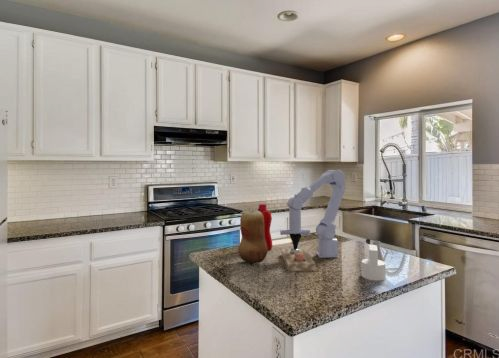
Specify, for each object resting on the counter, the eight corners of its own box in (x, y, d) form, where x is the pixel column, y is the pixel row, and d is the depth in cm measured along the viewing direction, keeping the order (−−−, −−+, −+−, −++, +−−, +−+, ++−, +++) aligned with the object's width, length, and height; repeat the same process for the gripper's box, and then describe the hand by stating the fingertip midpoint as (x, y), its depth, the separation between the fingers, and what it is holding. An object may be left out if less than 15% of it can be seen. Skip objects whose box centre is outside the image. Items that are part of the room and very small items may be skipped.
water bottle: (249, 248, 170) (248, 204, 169) (266, 246, 174) (266, 202, 173) (256, 252, 162) (255, 205, 161) (274, 249, 166) (273, 204, 165)
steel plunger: (298, 256, 152) (298, 247, 152) (300, 258, 148) (300, 249, 148) (290, 256, 152) (290, 247, 152) (291, 259, 148) (291, 249, 148)
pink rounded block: (303, 262, 140) (302, 252, 140) (304, 265, 136) (304, 255, 136) (294, 262, 140) (294, 253, 140) (295, 265, 136) (295, 255, 136)
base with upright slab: (386, 281, 118) (386, 251, 118) (361, 279, 121) (361, 249, 121) (384, 274, 127) (384, 245, 126) (361, 271, 130) (361, 244, 129)
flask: (385, 261, 144) (385, 240, 144) (384, 265, 137) (384, 243, 137) (368, 259, 147) (368, 239, 147) (367, 263, 140) (367, 242, 140)
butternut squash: (232, 263, 143) (232, 211, 142) (252, 257, 153) (251, 208, 152) (254, 270, 133) (254, 214, 132) (273, 263, 143) (273, 210, 142)
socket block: (305, 254, 156) (305, 248, 156) (315, 270, 132) (315, 263, 132) (281, 255, 156) (281, 249, 156) (288, 270, 132) (287, 264, 132)
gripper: (308, 220, 153) (308, 246, 154) (279, 220, 153) (279, 246, 154) (311, 222, 146) (311, 250, 147) (281, 223, 146) (281, 250, 147)
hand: (295, 248), depth 150 cm, fingers closed, pressing on steel plunger
